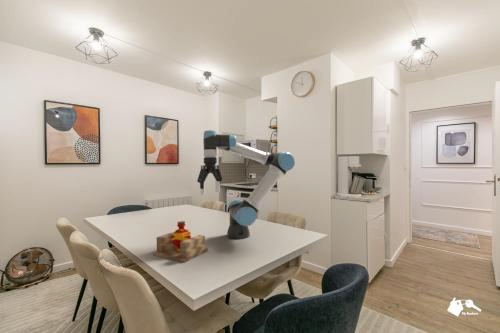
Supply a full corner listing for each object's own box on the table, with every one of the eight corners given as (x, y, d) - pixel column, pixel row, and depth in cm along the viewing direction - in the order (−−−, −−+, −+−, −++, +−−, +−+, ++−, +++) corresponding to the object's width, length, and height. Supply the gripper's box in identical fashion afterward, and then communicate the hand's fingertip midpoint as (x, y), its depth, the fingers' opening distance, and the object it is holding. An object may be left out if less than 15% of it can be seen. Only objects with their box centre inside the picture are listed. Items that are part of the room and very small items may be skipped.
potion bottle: (167, 251, 125) (167, 223, 125) (179, 245, 135) (179, 219, 135) (184, 254, 121) (183, 225, 121) (195, 247, 131) (195, 220, 131)
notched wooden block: (178, 244, 141) (178, 230, 141) (207, 250, 130) (207, 235, 130) (153, 254, 125) (153, 238, 125) (183, 262, 114) (183, 244, 114)
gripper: (217, 157, 152) (218, 190, 152) (190, 156, 130) (190, 195, 130) (227, 157, 148) (227, 191, 148) (200, 156, 126) (201, 196, 126)
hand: (210, 193), depth 139 cm, fingers open, 13 cm apart
